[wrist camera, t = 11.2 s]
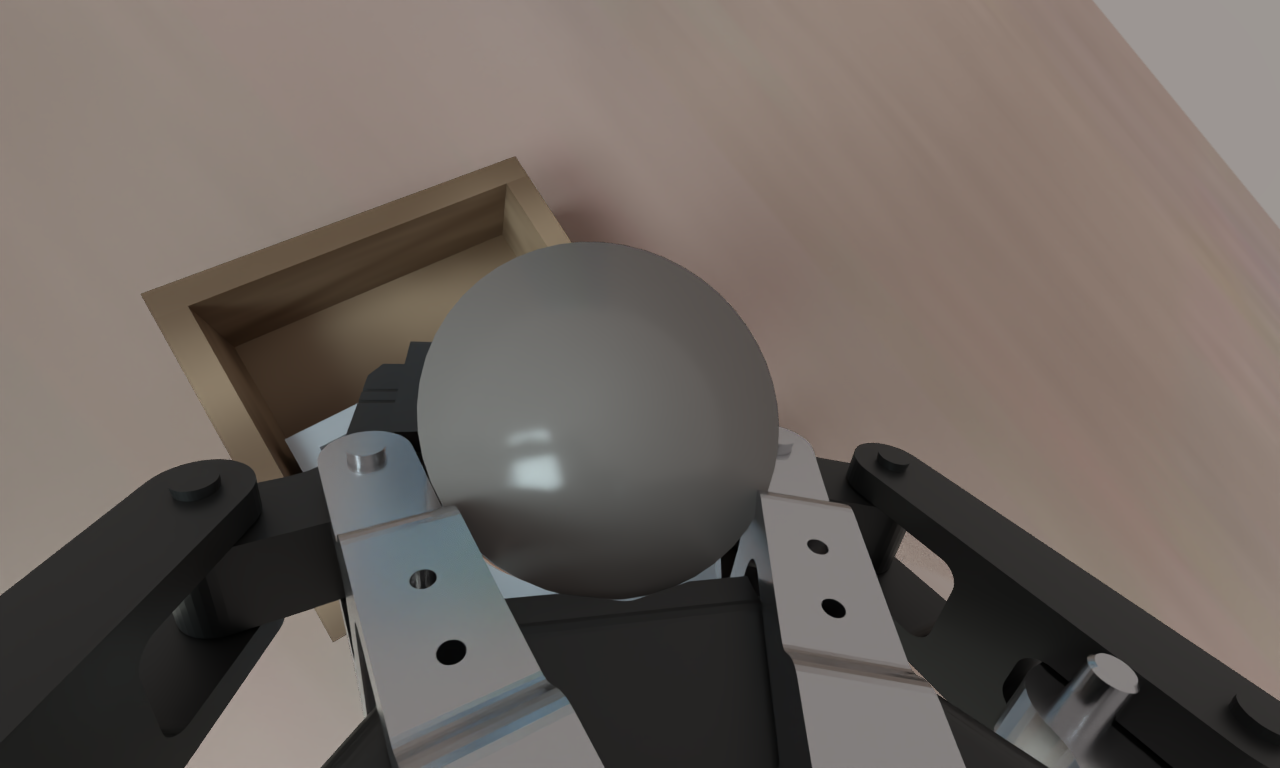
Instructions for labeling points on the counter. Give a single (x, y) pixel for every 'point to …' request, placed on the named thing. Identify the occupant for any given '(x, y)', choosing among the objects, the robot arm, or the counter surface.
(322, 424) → the grey drawer
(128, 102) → the counter surface
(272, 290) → the wooden drawer box
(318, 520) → the robot arm
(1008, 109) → the counter surface
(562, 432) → the spice jar
